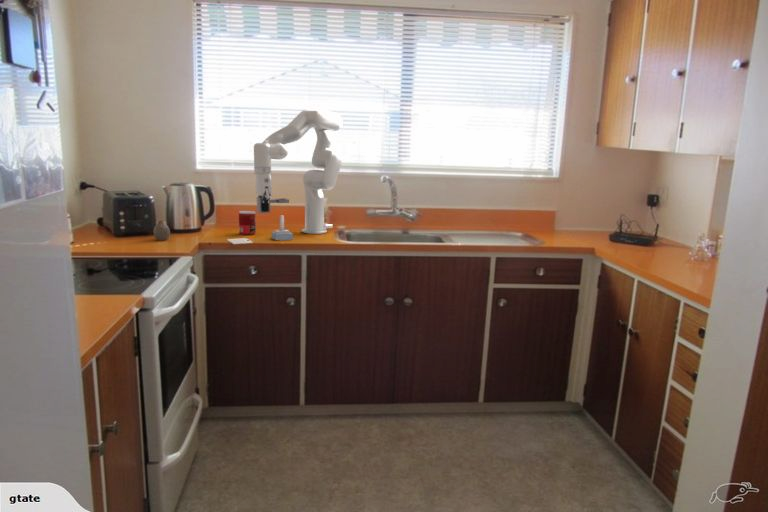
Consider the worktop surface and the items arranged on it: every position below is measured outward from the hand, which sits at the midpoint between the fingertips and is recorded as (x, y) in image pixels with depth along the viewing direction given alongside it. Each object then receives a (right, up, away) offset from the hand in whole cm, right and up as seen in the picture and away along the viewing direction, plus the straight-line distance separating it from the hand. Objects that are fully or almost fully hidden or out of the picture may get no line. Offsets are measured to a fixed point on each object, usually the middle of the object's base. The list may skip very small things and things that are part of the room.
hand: (263, 210), depth 255 cm
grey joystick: (+7, -13, +7) cm, 16 cm away
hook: (+4, 0, +2) cm, 5 cm away
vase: (-45, -14, -5) cm, 47 cm away
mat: (-10, -14, -3) cm, 18 cm away
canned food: (-12, -10, +18) cm, 24 cm away
